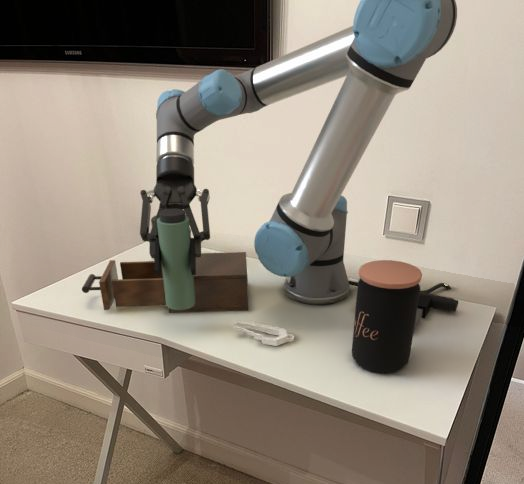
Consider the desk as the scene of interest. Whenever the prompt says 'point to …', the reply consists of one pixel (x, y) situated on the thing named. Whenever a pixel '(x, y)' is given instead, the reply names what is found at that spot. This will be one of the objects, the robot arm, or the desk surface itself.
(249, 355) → the desk surface
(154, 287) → the drawer
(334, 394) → the desk surface
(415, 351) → the desk surface
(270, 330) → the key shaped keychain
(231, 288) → the cabinet
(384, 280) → the coffee jar
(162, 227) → the bottle
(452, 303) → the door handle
